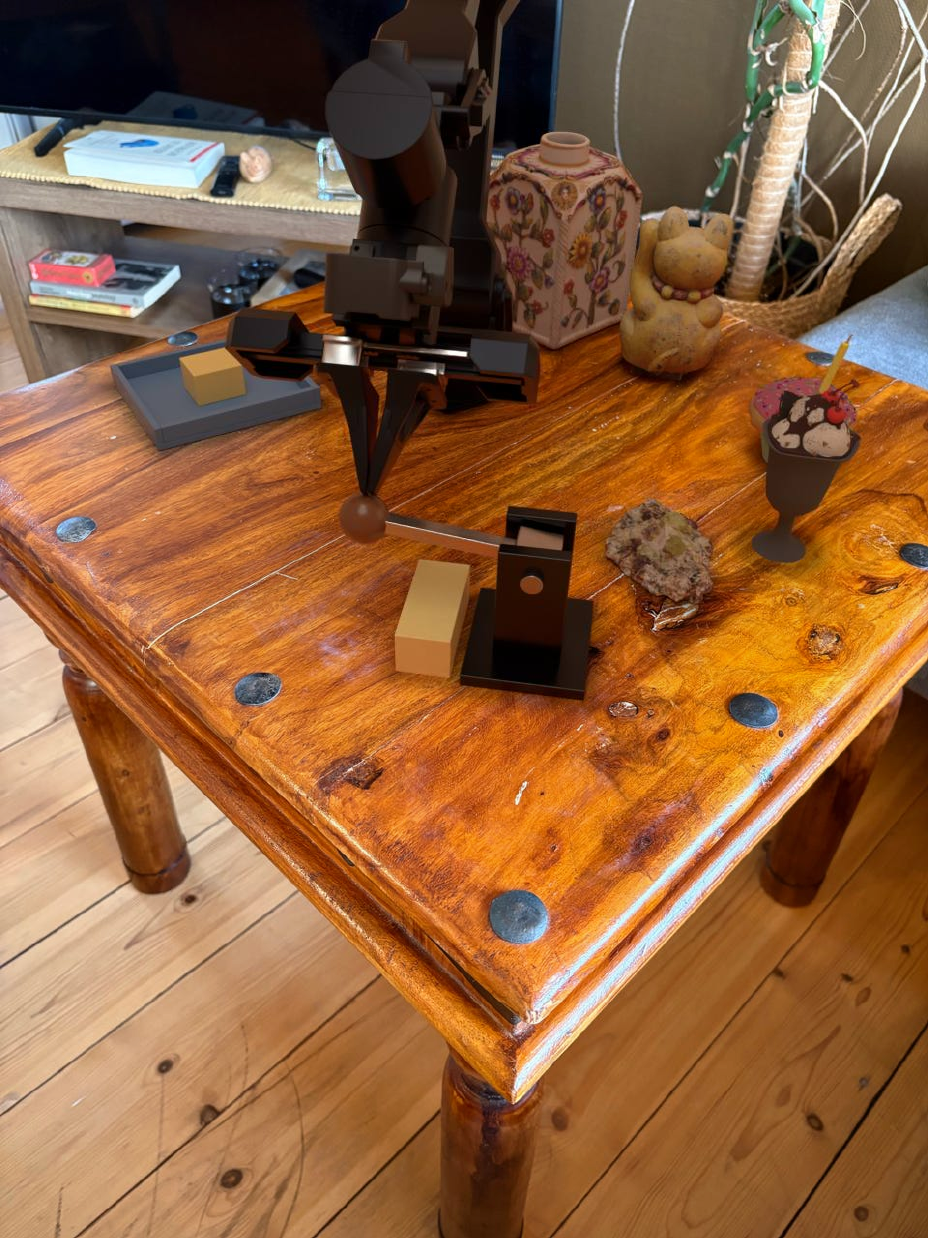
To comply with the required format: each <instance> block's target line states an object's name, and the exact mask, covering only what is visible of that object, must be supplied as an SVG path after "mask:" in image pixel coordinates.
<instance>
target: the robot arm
mask: <svg viewBox="0 0 928 1238" xmlns="http://www.w3.org/2000/svg"><path fill="white" fill-rule="evenodd" d="M520 2H521V0H407V2H406V4H405V7H404V9H403V10H401V11H400V12H398V13H396V14H395V15H394V16H392V17H390V18H389V19H388V20H385V21H384V22H383V23H382V24H381V25H380V26H379V28H378V30H377V33H376V35H375V38H372V39H371V41H370V46H369V52H368V58H365V59H363V60H360V61H358V62H356V63H354V64H352V65H351V66H350V67H349V68H347V69H346V70H344V71H343V72H342V73H341V74H340V76H339V77H338V78H337V79H336V80H335V81H334V83H333V85H332V87H331V89H330V91H328V92H327V94H326V98H325V103H324V118H325V122H326V126H327V129H328V131H329V134H330V136H331V139H332V141H333V143H334V146H335V148H336V151H337V153H338V155H339V158H340V160H341V163H342V165H343V167H344V170H345V172H346V174H347V177H348V179H349V182H350V185H351V187H352V189H353V191H354V193H355V194H356V195H357V196H359V197H360V198H361V206H360V212H359V219H358V227H357V234H356V238H352V242H351V245H350V247H349V252H348V253H349V254H345V253H335V252H334V253H330V252H328V253H327V252H326V253H325V266H324V267H325V269H324V270H325V271H324V291H323V295H324V296H323V310H322V311H323V312H322V313H324V314H329V315H331V320H332V322H333V323H334V325H335V327H338V328H343V332H342V334H331V333H320V332H311V331H309V329H308V328H307V326H306V325H305V323H304V322H303V321H302V318H300V316H299V315H298V314H297V312H296V311H287V310H276V309H275V310H274V309H265V308H264V309H263V308H255V307H243V306H241V308H240V309H239V310H238V311H237V312H236V313H235V315H233V317H232V318H231V319H230V320H229V322H228V327H227V334H226V338H225V339H226V346H225V349H226V350H227V351H228V352H229V353H230V354H231V355H232V356H233V357H234V358H235V359H236V360H237V361H238V362H239V363H240V364H241V365H242V366H243V367H244V368H245V369H246V370H247V371H248V372H249V373H250V374H251V375H253V376H256V377H259V378H263V379H273V380H283V381H293V382H301V381H302V380H303V379H304V378H306V377H307V376H309V375H311V374H312V373H313V372H314V367H315V373H316V376H317V377H318V379H319V380H320V381H321V383H323V385H324V387H326V389H327V390H328V391H329V393H330V394H331V395H332V396H333V397H334V398H336V399H339V401H340V405H341V407H342V410H343V413H344V416H345V421H346V424H347V429H348V434H349V439H350V445H351V450H352V456H353V462H354V468H355V472H356V477H357V483H358V488H359V493H362V494H365V495H368V494H370V495H374V496H378V495H379V493H380V491H381V490H382V487H383V486H384V484H385V483H386V480H387V479H388V477H389V475H390V473H391V472H392V469H393V468H394V466H395V464H396V463H397V461H398V459H399V457H400V456H401V454H402V452H403V450H404V448H405V446H406V445H407V443H408V442H409V440H410V439H411V438H412V436H413V435H414V433H415V432H416V430H417V429H418V428H419V426H420V425H421V424H422V423H423V422H424V420H425V418H426V417H427V416H428V414H429V413H430V412H431V411H432V410H435V409H436V410H440V411H441V412H443V413H444V414H451V413H453V412H454V413H455V412H457V411H461V410H464V409H469V408H472V407H475V406H479V405H482V404H486V403H489V402H494V403H502V404H512V405H513V404H514V405H523V406H530V405H536V404H537V401H538V393H539V386H540V376H541V358H540V357H541V356H540V345H539V343H538V342H536V341H535V339H534V338H533V337H532V335H531V334H526V333H516V332H514V331H513V297H512V293H511V291H510V290H509V289H508V284H507V278H506V275H500V273H501V259H502V258H501V253H500V251H499V248H498V246H497V244H496V242H495V239H494V237H493V235H492V233H491V230H490V228H489V226H488V224H487V208H488V196H489V184H490V175H491V171H492V159H493V147H494V136H495V135H494V134H495V124H496V112H497V111H496V110H497V98H498V88H499V77H500V76H499V73H500V62H501V51H502V50H501V49H502V39H503V28H504V26H505V25H506V23H507V22H508V20H509V19H510V17H511V15H513V12H514V11H515V9H516V7H518V5H519V3H520ZM375 372H385V373H387V374H386V384H385V385H386V386H385V401H384V407H383V411H382V415H381V419H380V423H379V413H380V412H379V410H380V398H381V397H380V394H379V391H377V389H376V388H375V386H374V385H373V383H372V381H371V379H372V378H374V376H375ZM378 423H379V424H378ZM378 425H379V428H378Z"/></svg>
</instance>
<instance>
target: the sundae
mask: <svg viewBox="0 0 928 1238" xmlns="http://www.w3.org/2000/svg"><path fill="white" fill-rule="evenodd" d="M850 385H851V387H849V388H847V389H845V390H843V389H844V388H846V387H847V386H850ZM860 386H861V384H860V382H858V380H856V379H855V378H851V379H850V382H848V383H846V384H844V385H842V386H840V387H838V389H837V390H835V391H833V390H826V391H824V393H823V394H819V393H816V394H813V395H809V396H806V397H804V396H800V395H797V394H795V393H793V392H790V391H787V390H784V391H783V392H782V394H781V400H780V405H779V412H778V413H776V414H773V415H772V416H771V418H770V419H767V420H766V421H765V422H764V423H763V434H764V437H765V439H766V441H767V443H768V445H769V454H768V463H766V473H765V497H766V500H767V501H768V503H769V504H770V506H771V507H772V508H773V510H775V511H776V512H777V513H778V519H777V523H776V525H775V527H774V528H773V530H772V529H771V530H770V529H769V530H762V531H759V532H758V533H755V534H754V535H753V537H752V538H751V547H752V549H753V551H754V552H755V553H756V554H757V555H759V556H760V557H762V558H764V559H766V560H768V561H772V562H775V563H783V564H791V563H797V562H799V561H801V560H803V559H804V558H805V556H806V553H807V548H806V545H805V544H804V542H803V541H802V540H801V539H799V538H798V537H797V536H795V535H794V534H792V531H793V527H794V522H795V519H796V518H798V517H802V516H805V515H807V514H809V513H812V512H814V511H815V510H817V509H818V508H819V506H820V504H821V503H822V501H823V500H824V497H825V496H826V495H827V493H828V491H829V488H830V486H831V484H832V482H833V480H834V478H835V476H836V474H837V472H838V470H839V468H840V466H841V464H842V463H846V462H848V461H850V460H851V459H853V457H855V455H856V453H857V452H858V450H859V448H860V446H861V439H862V437H861V436H860V434H858V433H857V432H855V430H854V429H852V430H851V429H850V428H848V426H847V424H846V423H845V421H844V420H843V419H844V418H845V414H846V413H845V410H843V409H842V408H841V407H839V403H840V400H841V398H842V396H843V395H845V394H847V392H849V391H850V390H852V389H856V388H860ZM839 390H841V391H842V390H843V391H842V394H841V395H840V397H839V395H838V393H837V392H838V391H839Z"/></svg>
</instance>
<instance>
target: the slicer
mask: <svg viewBox="0 0 928 1238" xmlns="http://www.w3.org/2000/svg"><path fill="white" fill-rule="evenodd" d="M506 509H507V510H506V514H505V530H504V537H507V538H512V539H516V540H517V538H518V533H519V529H520V526H524V527H529V528H533V529H538V530H542V531H547V532H552V533H556V534H561V535H564V540H563V547H562V550H554V549H545V548H537V547H528V546H519V545H510V544H500V545H499V549H498V557H497V558H496V578H495V579H496V580H495V588H490V587H480V588H479V591H478V596H477V601H476V605H475V609H474V613H473V617H472V620H471V625H470V630H469V635H468V639H467V643H466V647H465V652H464V655H463V660H462V664H461V665H462V666H461V668H460V673H459V685H460V686H466V687H473V688H479V689H480V688H481V689H488V690H497V691H504V692H512V693H519V694H527V695H535V696H542V697H551V698H558V699H567V700H574V701H581V702H583V701H585V694H586V685H587V676H588V665H589V654H590V646H591V634H592V624H593V614H594V603H595V602H594V600H592V599H583V598H576V597H575V598H574V597H569V591H570V584H571V575H572V566H573V558H574V549H575V540H576V533H577V523H578V516H579V515H578V512H573V511H561V510H553V509H544V508H535V507H525V506H516V505H508V506H507V508H506Z"/></svg>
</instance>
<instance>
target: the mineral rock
mask: <svg viewBox="0 0 928 1238" xmlns="http://www.w3.org/2000/svg"><path fill="white" fill-rule="evenodd" d="M698 528H699V525H698V524H697V522H696V521H695V520H694V519H692V518H689V517H687V516H686V515H684V513H682V512H678V511H675V510H674V509H673V508H671V507H670V506H667V505H663V503H662V502H661V501H658V500H657V499H656V498H646V499H645V500H644V501H643V502H642V503H641V504H639V505H637V506H635V507H633V508H631V509H627V511H626V512H625V513H624V514H623V516H622V518H620V520H619V521H618V522H617V523H615V524H614V527H612V531H611V533H610V535H609V537H607V538H606V540H605V544H606V551H605V556H606V557H607V558H609V559H610V560H611V561H612V562H614V564H616V565H617V566H619V568H620V571H621V573H623V575H626V576H627V577H629V578H631V580H632V581H635V582H636V583H638V584H640V586H641V587H642V588H644V589H645V590H646V591H648V593H649V594H651V595H655V596H656V597H659V596H666V597H668V598H670V599H671V601H674V602H676V603H678V602H679V601H681V600H684V601H687V602H689V603H691V604H694V605H697V604H700V603H702V601H703V599H704V597H703V595H707V594H708V593H710V592H711V591H712V586H713V585H714V581H712V579H711V575H710V569H709V567H710V562H711V561H710V559H709V558H711V557H712V553H713V552H714V546H713V542H712V541H711V538H709V537H707V536H705V535H704V534H702V533H701V532H700V531H698Z"/></svg>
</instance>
